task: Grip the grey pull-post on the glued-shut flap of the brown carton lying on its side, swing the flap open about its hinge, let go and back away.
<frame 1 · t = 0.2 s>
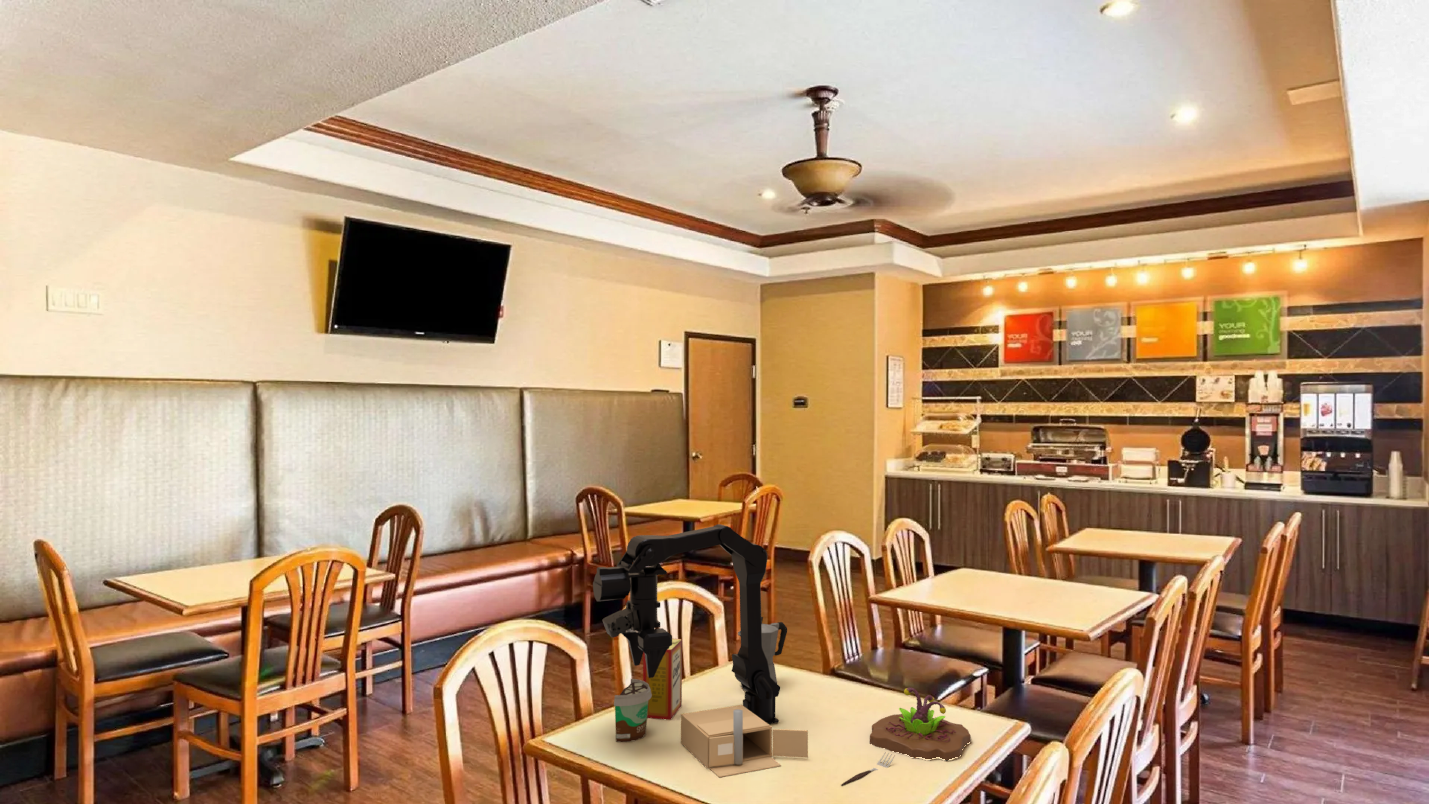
hand: (643, 671, 177), 14 cm above the table, tool pointing down, fingers open, 9 cm apart
baking soda box: (662, 712, 194), on the table
plant: (919, 743, 177), on the table
coffeepot: (762, 688, 211), on the table
flap: (726, 738, 163), point 6 cm above the table, hinge at 5.8°
food container: (636, 735, 180), on the table
fork: (866, 776, 161), on the table
carton: (725, 749, 172), on the table
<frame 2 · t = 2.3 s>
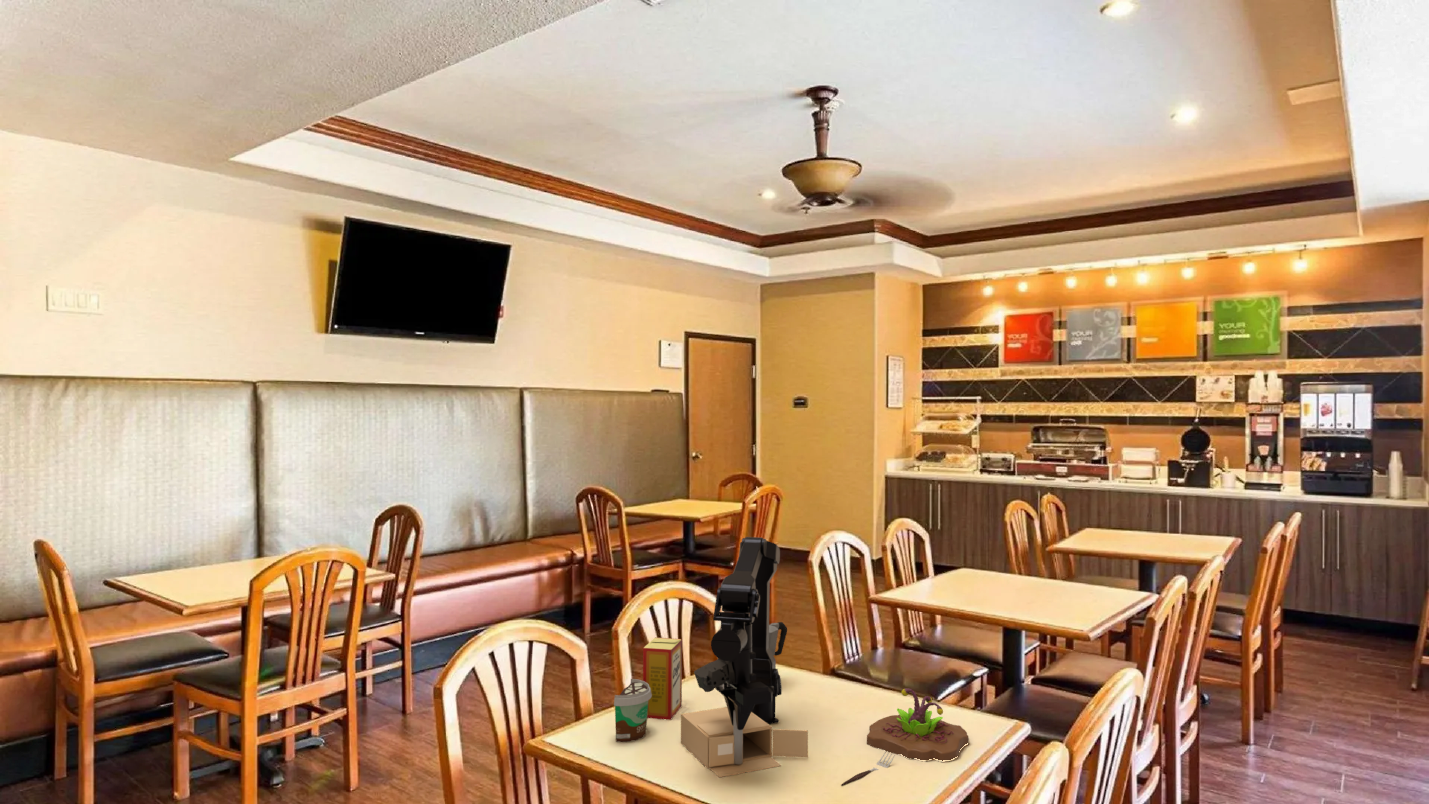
hand: (737, 727, 164), 7 cm above the table, tool pointing down, fingers closed
flap: (726, 738, 163), point 6 cm above the table, hinge at 5.7°, touching gripper
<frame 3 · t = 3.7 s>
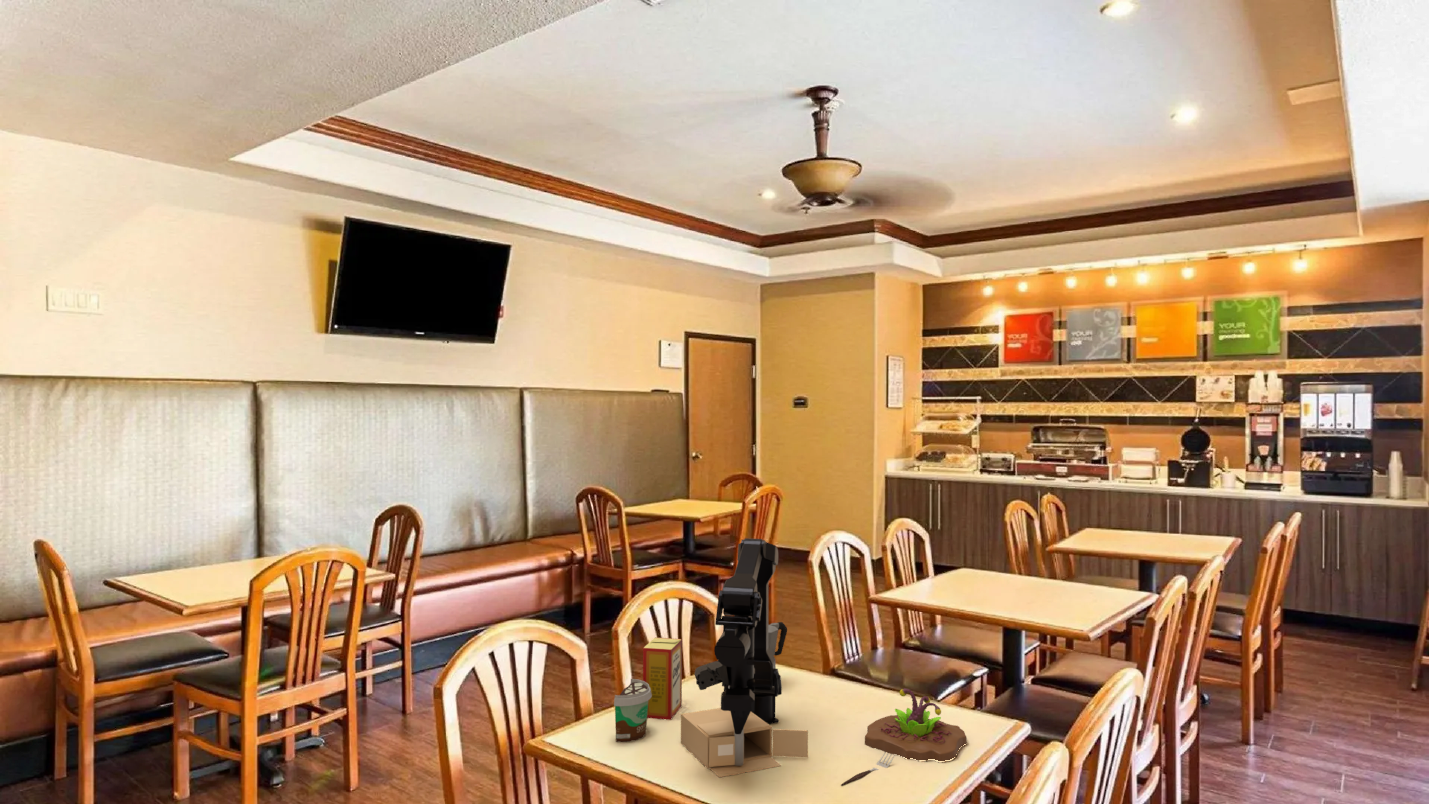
hand: (738, 730, 163), 7 cm above the table, tool pointing down, fingers open, 3 cm apart
flap: (726, 739, 163), point 6 cm above the table, hinge at 12.0°, touching gripper
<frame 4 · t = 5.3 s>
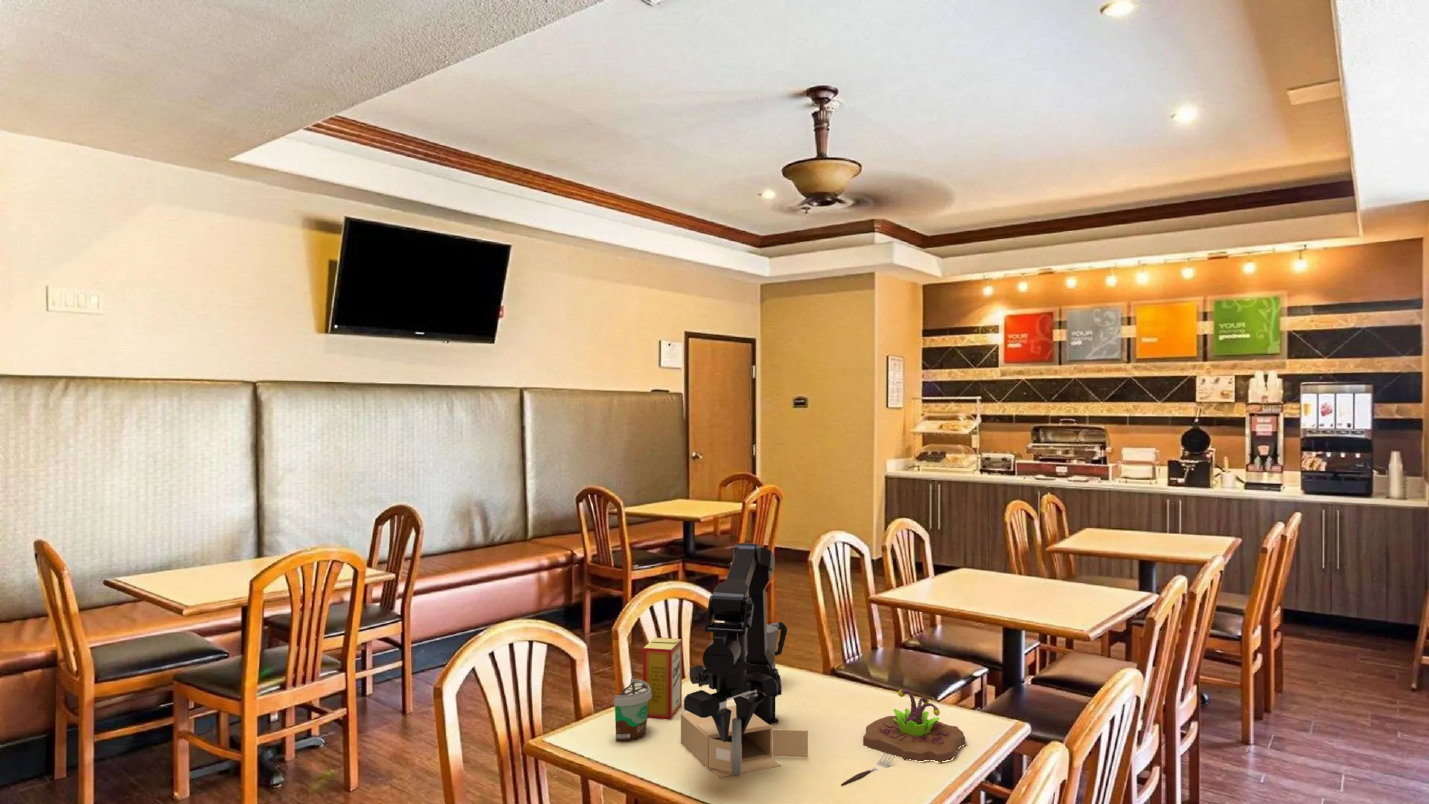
hand: (732, 738, 159), 7 cm above the table, tool pointing down, fingers open, 4 cm apart
flap: (725, 743, 161), point 6 cm above the table, hinge at 51.5°, touching gripper
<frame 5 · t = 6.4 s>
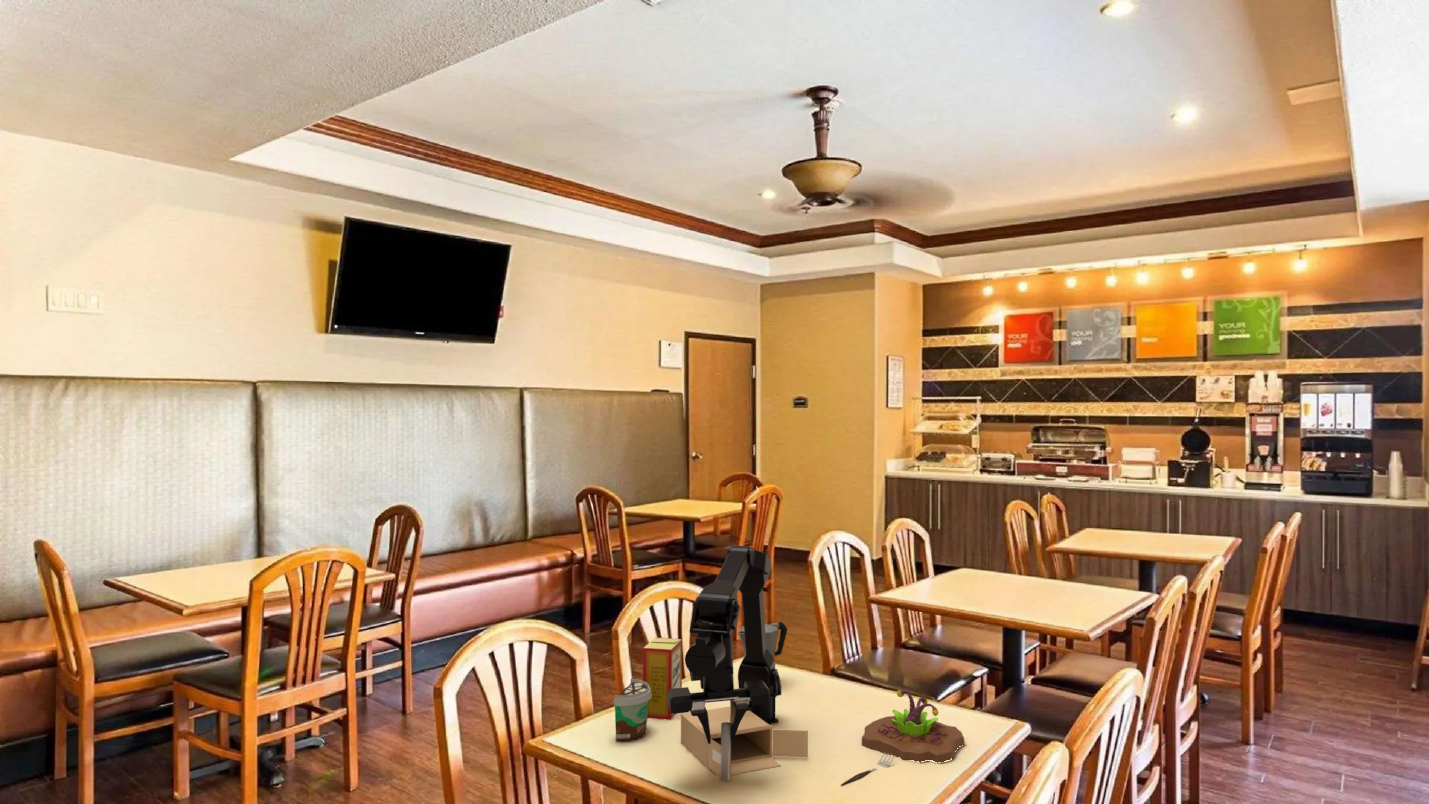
hand: (720, 742, 157), 7 cm above the table, tool pointing down, fingers open, 4 cm apart
flap: (718, 746, 159), point 6 cm above the table, hinge at 80.9°, touching gripper
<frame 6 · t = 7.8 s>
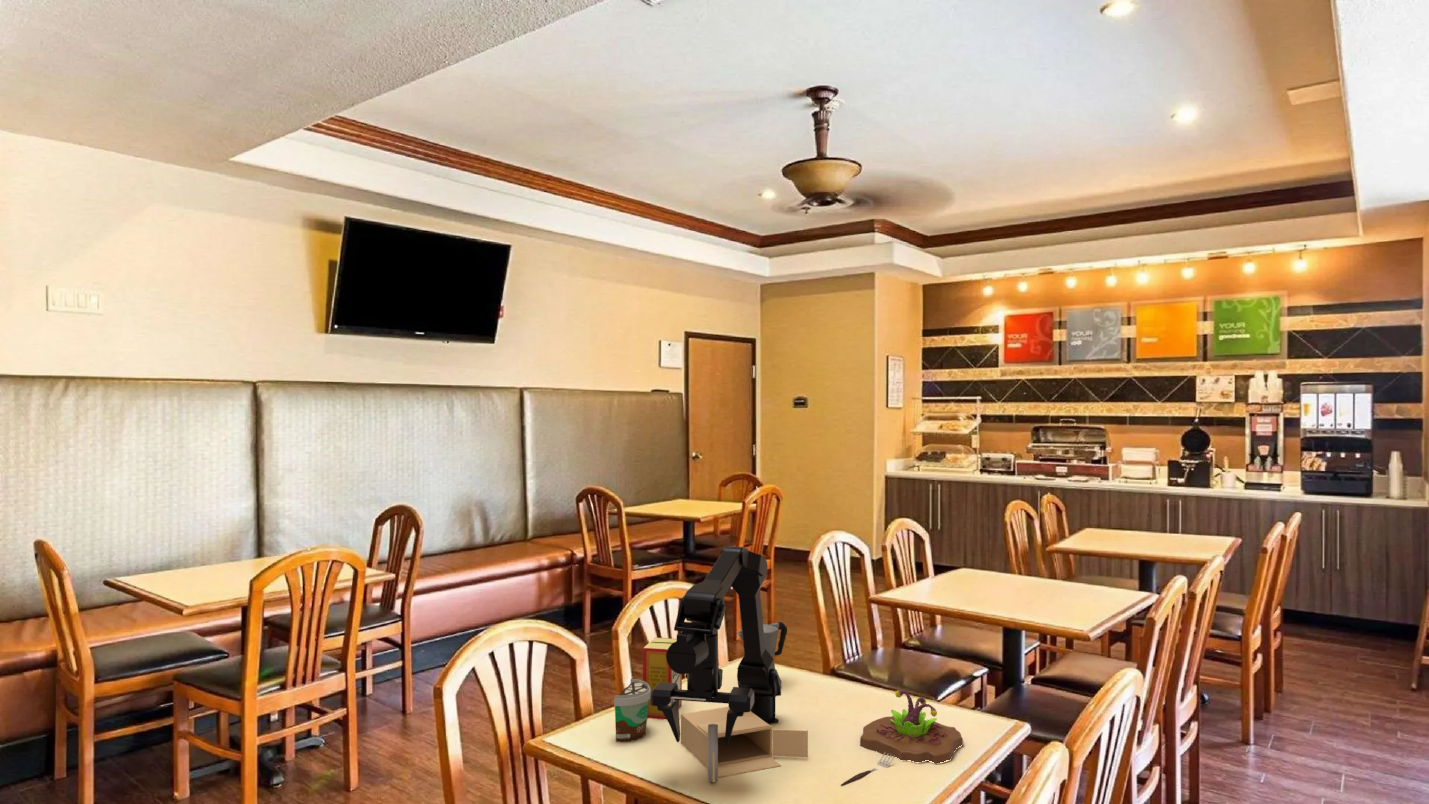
hand: (702, 743, 156), 7 cm above the table, tool pointing down, fingers open, 9 cm apart
flap: (711, 747, 159), point 6 cm above the table, hinge at 105.8°
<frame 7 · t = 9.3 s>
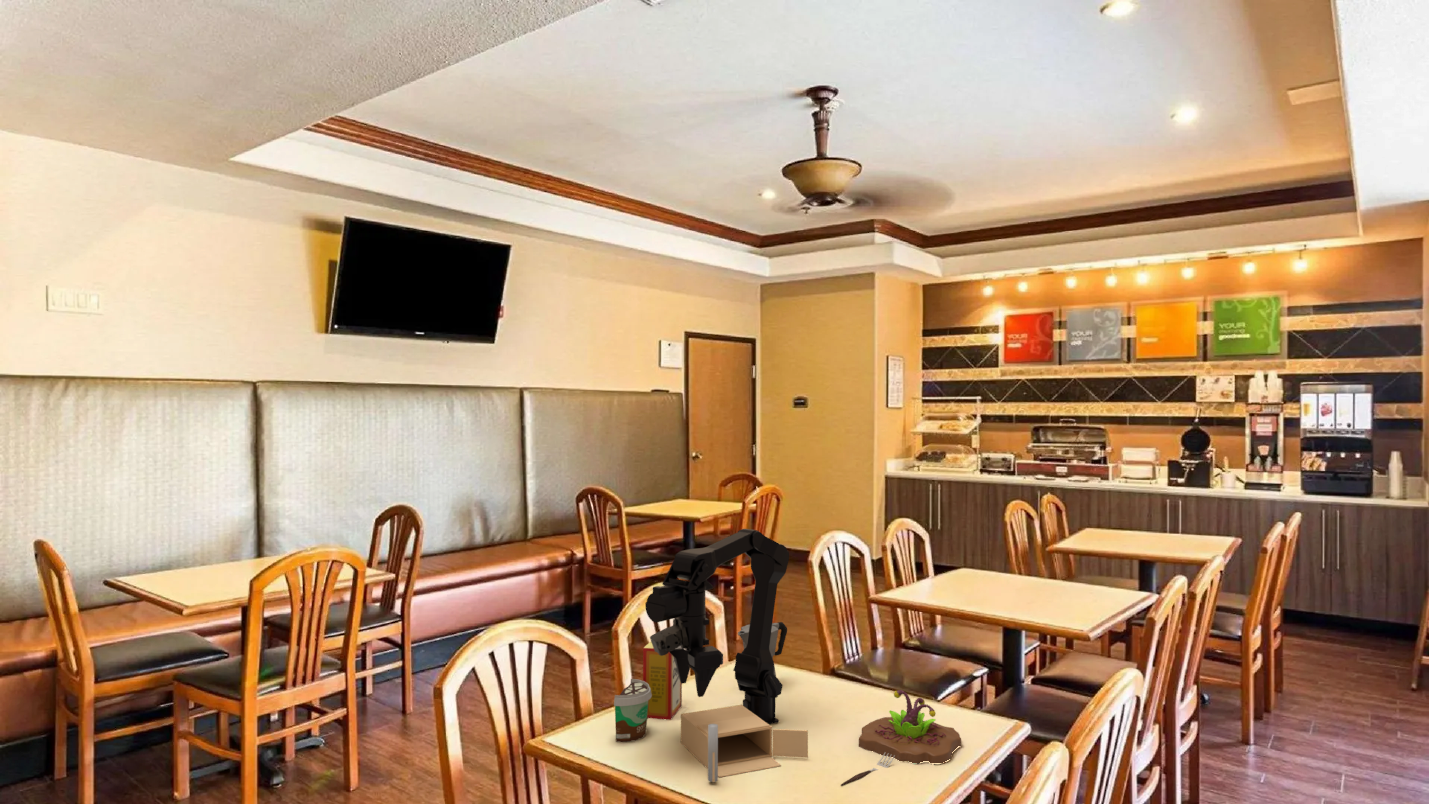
hand: (691, 689, 173), 12 cm above the table, tool pointing down, fingers open, 9 cm apart
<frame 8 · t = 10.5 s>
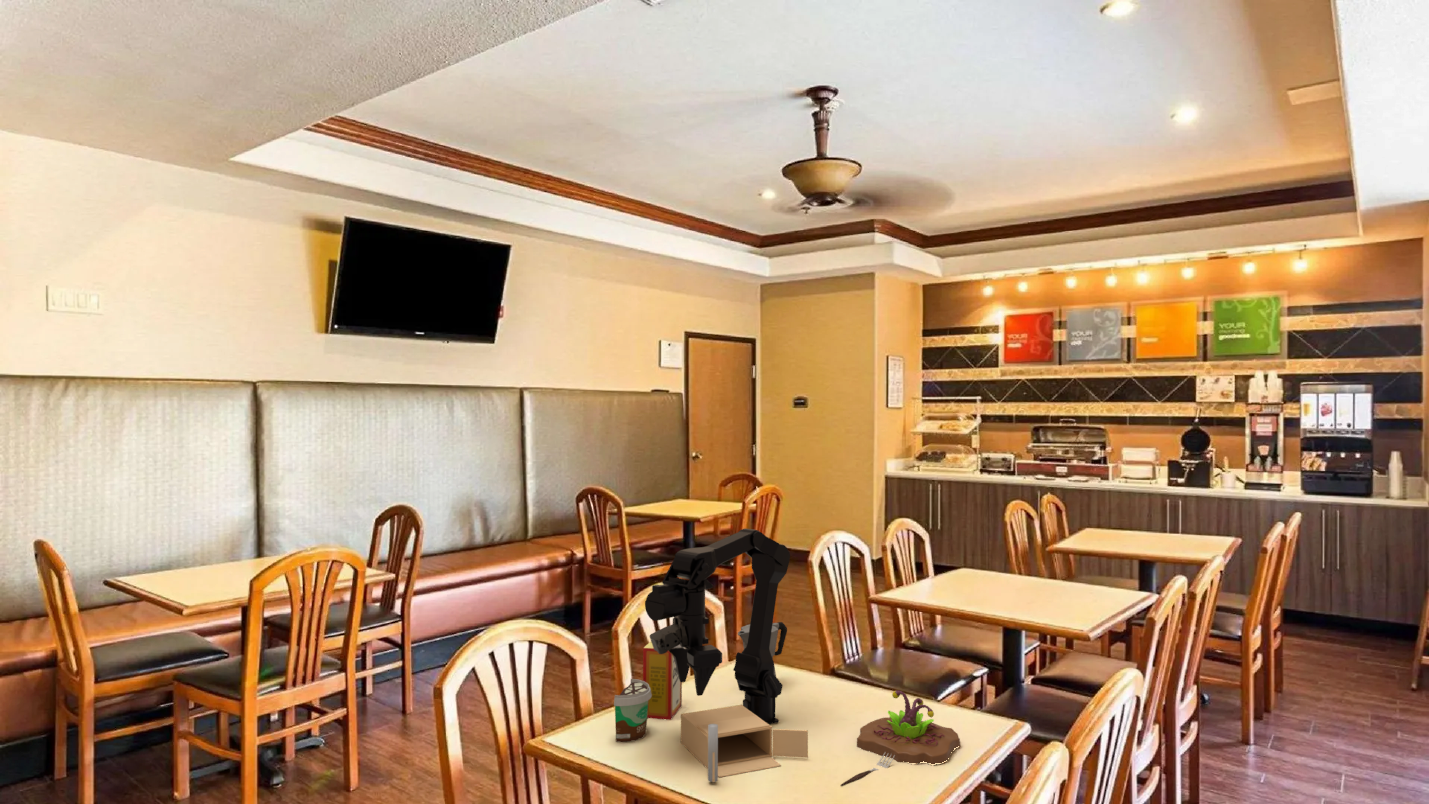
hand: (690, 688, 173), 12 cm above the table, tool pointing down, fingers open, 9 cm apart
at the end: flap at +106° (first picture: +6°); the gripper is holding nothing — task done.
